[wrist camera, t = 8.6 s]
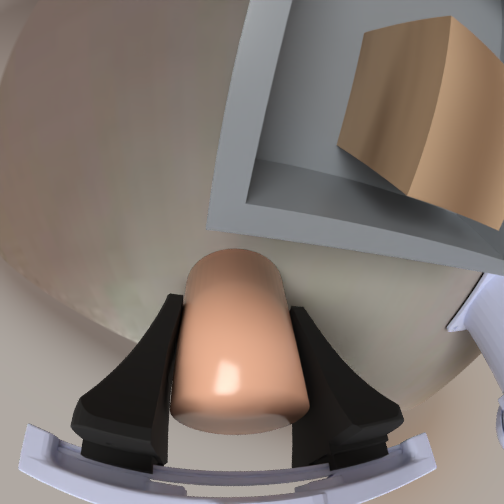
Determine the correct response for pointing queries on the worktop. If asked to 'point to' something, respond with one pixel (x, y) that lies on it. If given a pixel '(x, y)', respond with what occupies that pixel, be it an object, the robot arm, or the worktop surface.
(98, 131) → the worktop surface
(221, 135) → the gray tote
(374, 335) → the worktop surface
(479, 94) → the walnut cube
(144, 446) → the robot arm
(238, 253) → the terracotta cylinder
